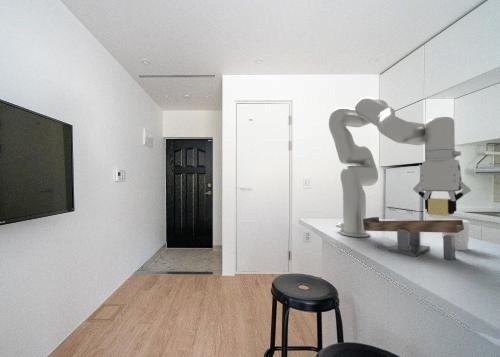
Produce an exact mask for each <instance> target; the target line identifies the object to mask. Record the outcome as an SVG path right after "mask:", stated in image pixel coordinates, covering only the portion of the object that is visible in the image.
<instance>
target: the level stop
mask: <svg viewBox="0 0 500 357" xmlns="http://www.w3.org/2000/svg"><path fill="white" fill-rule="evenodd" d="M442 244H443V246H442V247H443V248H442V250H443V259H444V260H448V261H453V260H454V259H456V250H455V236H453V235H445V236H443V237H442Z"/></svg>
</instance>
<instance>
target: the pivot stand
mask: <svg viewBox="0 0 500 357" xmlns="http://www.w3.org/2000/svg"><path fill="white" fill-rule="evenodd" d="M396 234H397V235H396V236H397V238H396V239H397V240H396V242H397V244H396V245H394V246H391V247H388V248H387V249H388V252H390V253H391V252H392V253H395V254H401V255H406V256H410V257H413V258H417V256H420V255H422V254H424V253H426V252H427V251H429V250H430V249H431V247H430V246H429V245H425V244H424V245H423V244H421V232H409V230H408V229H401V228H398V229H397V231H396Z"/></svg>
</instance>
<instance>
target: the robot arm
mask: <svg viewBox="0 0 500 357" xmlns="http://www.w3.org/2000/svg"><path fill="white" fill-rule="evenodd" d="M370 124H372V125H374V126H375V127H377V130H378V131H379V133H380V134H381V135H383V136H385V137H386V138H388V139H390V140H392V141H393V142H396V143H397V144H398V143H399V144H404V145H405V144H406V145H414V146H423V145H424V161H422V164H421V170H420V178H419V182H418V183H417V184H416V185H415V186H414V187H413V188H412V190H413V191H414V192H415V193H416V194H418V195H419V196H420V197H421V198H422V199H423V200H424V208H425V209H424V210H426V212H427V213H428V199H430V198H432V194H433V192H447V193H448V196H449V199H450V201H449V214H452V215H454V214H455V212H457V201H458V200H460V199H461V198H463V197H464V196H465V195H467V194H469V193H471V192H472V189H471V188H470V187H468V185H466V184H465V183H464V181H462V179H463V178H462V169H461V165H460V161H459V159H456V158H457V157H458V156H459V157H460V156H462V151H458V150H456V149H455V148H456V143H455V142H456V141H455V140H456V138H455V137H456V136H455V132H456V131H455V129H456V128H455V120H454V118H452V117H450V116H441V117H440V116H438V117H434V118H431V119H428V120H427V121H425V123H421V122H420V123H419V122H413V121H407V120H405V119H402V118H400V117H398V116H396V111H395V108H393V107H392V106H389V105H388V103H387V102H386V101H385V100H383V99H379V98H373V97H369V96H366V97H361V98H360V99H359V100H358V101H356V103H355V105H354V108H352V107H351V108H350V107H344V106H343V107H337V108H335V109H333V111H332V112H331V113H330V115H329V119H328V127H329V131H330V134H331V136H332V139H333V141H334V145H335V149H336V153H337V157H338V160H339V162H340V163H341V164H343V165H347V166H346V167H344V168H343V169H342V170H341V172H340V181H341V186H342V213H343V214H342V215H343V216H342V218H343V220H342V223H340V222H338V223H336V225H335V226H336V228H340V230H339V233H340V234H341V235H343V236H347V237H353V238H354V237H355V238H365V237H367V238H368V237H370V236H371V233H370V231H364V225H363V219H366V218H367V205H366V204H367V203H366V202H367V201H366V199H367V198H366V192H365V190H364V187H371V186H374V185H375V184H376V183H377V182H378V180H379V173H378V172H379V171H378V169H377V166H376V162H375V159H374V156H373V153H372V152H371V149H370V148H368V147H366V146H365V145H357V144H356V143H355V141H354V137H353V134H352V133H351V131H350V130H349V129H348V128H347V127H351V128H363V127H364V126H367V125H370ZM457 192H458V193H457Z"/></svg>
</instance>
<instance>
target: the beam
mask: <svg viewBox="0 0 500 357" xmlns="http://www.w3.org/2000/svg"><path fill="white" fill-rule="evenodd" d="M462 220H463V219H459V220H441V219H438V220H437V219H436V220H435V219H433V220H432V219H431V220H430V219H429V220H426V219H425V220H423V219H422V220H414V219H413V220H380V217H379V216H372V217H366V219H363V225H364V231H367V232H397V229H398V228H401V229H408V230H409V232H420V233H442V232H443V233H458V232H460V231H462V230H464V226H463V221H462Z"/></svg>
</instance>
